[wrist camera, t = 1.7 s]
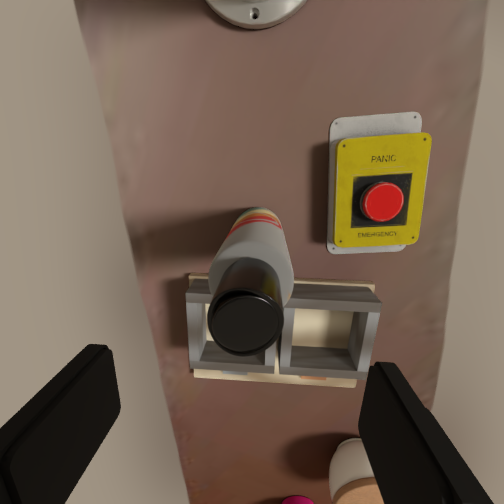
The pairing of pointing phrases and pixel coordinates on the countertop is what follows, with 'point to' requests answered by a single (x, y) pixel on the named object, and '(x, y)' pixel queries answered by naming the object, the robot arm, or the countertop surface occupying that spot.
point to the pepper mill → (297, 500)
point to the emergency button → (376, 182)
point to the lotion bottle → (250, 285)
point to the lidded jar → (352, 475)
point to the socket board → (295, 336)
